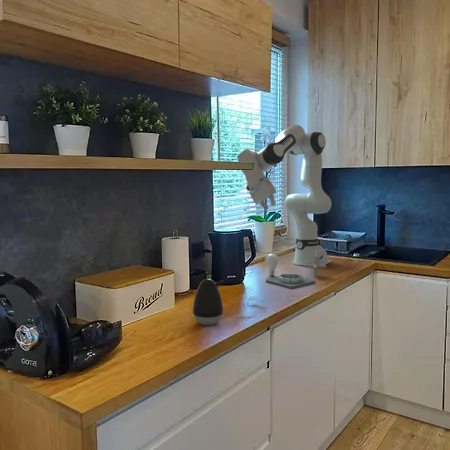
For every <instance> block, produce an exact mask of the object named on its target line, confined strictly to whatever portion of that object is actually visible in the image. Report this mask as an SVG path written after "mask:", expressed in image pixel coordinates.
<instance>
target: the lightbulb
mask: <svg viewBox="0 0 450 450" xmlns="http://www.w3.org/2000/svg"><path fill="white" fill-rule="evenodd" d="M265 263H266V266H267V267H268V270H269V272H268V273H269V274H268V275H269V276H271V277H273V276H275V272H276V271H275V270H276V267H277V266H278V264H279V257H278V255H277V254H275V253H270V254H267V255H266V257H265Z"/></svg>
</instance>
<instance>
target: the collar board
mask: <svg viewBox="0 0 450 450" xmlns="http://www.w3.org/2000/svg"><path fill="white" fill-rule="evenodd" d="M265 282H266V283H269V284H272V285H276V286H279V287H284V288H285V289H286V288H287V289H290V290H291V289H292V290H293V289H296V288H301V287H305V286H308V285H313V284H316V280H313V279H307V278H305V277H303V274H298V273H281V274H278V275H277V277H273V278H268V279H265Z"/></svg>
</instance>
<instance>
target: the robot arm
mask: <svg viewBox="0 0 450 450" xmlns="http://www.w3.org/2000/svg"><path fill="white" fill-rule="evenodd" d="M305 131H306V130H305V129H304V128H303V127H302V126H301V125H299V124H293V125H291V126H288V127H286V128H285V129H284V130H282V131H281V132H280V133H279V134H278V135H277V137H275V142H270V143H268V144H267V145H266V146H265V147H264V148H262V149H261V150H259V151H254V150H252V149H250V148H245V149H244V150H242V151H241V152H240V153H238V154H237V156H236V161H237V163H238V162H243V163H254V169H253V170H241V173H242V174H244V177H245V181H246V182H247V183H246V188H245V189H246V190H247V192H249V195H250V196H251V199H252V201H253V202H254V203H255V205H258V204H259V205H260V206H261V207H262V208H263V210H264V211H267V210H269V206H268V205H267V204H266V202H265V200H266V199H269V201H270V205H271V206H272V207H273V206H276V205H277V203H276V201H275V196H274V195H275V194H276V193H277V190H276V188H275V186H274V184H273V183H272V180H270V178H268V177H266V176H265V175H266V174H265V172H267V171H269V170H270V169H272V168H273V167H275V166H276V165H277V164H280V163H281V162H282V161H283V160H284V158H285V155H286V154H288V153H289V154H291V155H293V156H298V155H303V159H302V164H301V170H300V180H299V181H300V184H301V185H302V186H303V187H305V188H306V189H308V192H307V193H305V192H304V193H301V192H300V193H299V192H298V193H290V194H288V195H287V196H286V197H285V200H284V207H285V210H286V211H288V212H289V213H290V214H291V215H292V216H293V219H294V221H295V223H296V237H295V238H296V239H295V244H296V246H295V251H294V259H292V260H293V264H294V265H297V266H303V267H305V264H314V256H318V264H324V265H327V264H331V263H332V260H331V259H329V258H328V253H327V250H325V249H324V248H323V247H322V246H321V245H320V243H323V239H322V238H318V225H317V223H316V222H315V220H312V219H311V218H309V215H310V214H312V215H320V214H321V215H322V214H327V213H329V212H330V210H331V207H332V200H331V197H330V196H329V195H327V193H326V192H325V191H324V189H323V187H322V171H323V155H322V154H323V151H324V149H325V146H326V136H325V135H324V134H323V133H322V132H320V131H314V132H305Z"/></svg>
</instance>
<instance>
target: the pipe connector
mask: <svg viewBox="0 0 450 450" xmlns="http://www.w3.org/2000/svg"><path fill="white" fill-rule="evenodd" d="M304 268H310V269H313V277H315V278H317V277H318V269H327V264H325V265H324V264H318V256H314V264H305V266H304Z"/></svg>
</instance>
